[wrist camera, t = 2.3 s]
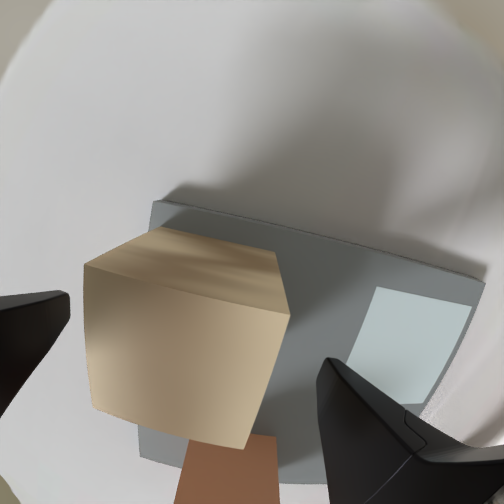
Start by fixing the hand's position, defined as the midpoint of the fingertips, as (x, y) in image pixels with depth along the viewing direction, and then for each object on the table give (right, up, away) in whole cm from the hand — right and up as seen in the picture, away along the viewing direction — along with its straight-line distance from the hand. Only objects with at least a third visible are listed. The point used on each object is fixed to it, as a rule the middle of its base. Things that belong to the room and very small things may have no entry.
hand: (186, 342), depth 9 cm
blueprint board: (+5, -5, +6) cm, 9 cm away
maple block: (0, +1, +4) cm, 4 cm away
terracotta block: (+1, -10, +7) cm, 12 cm away
